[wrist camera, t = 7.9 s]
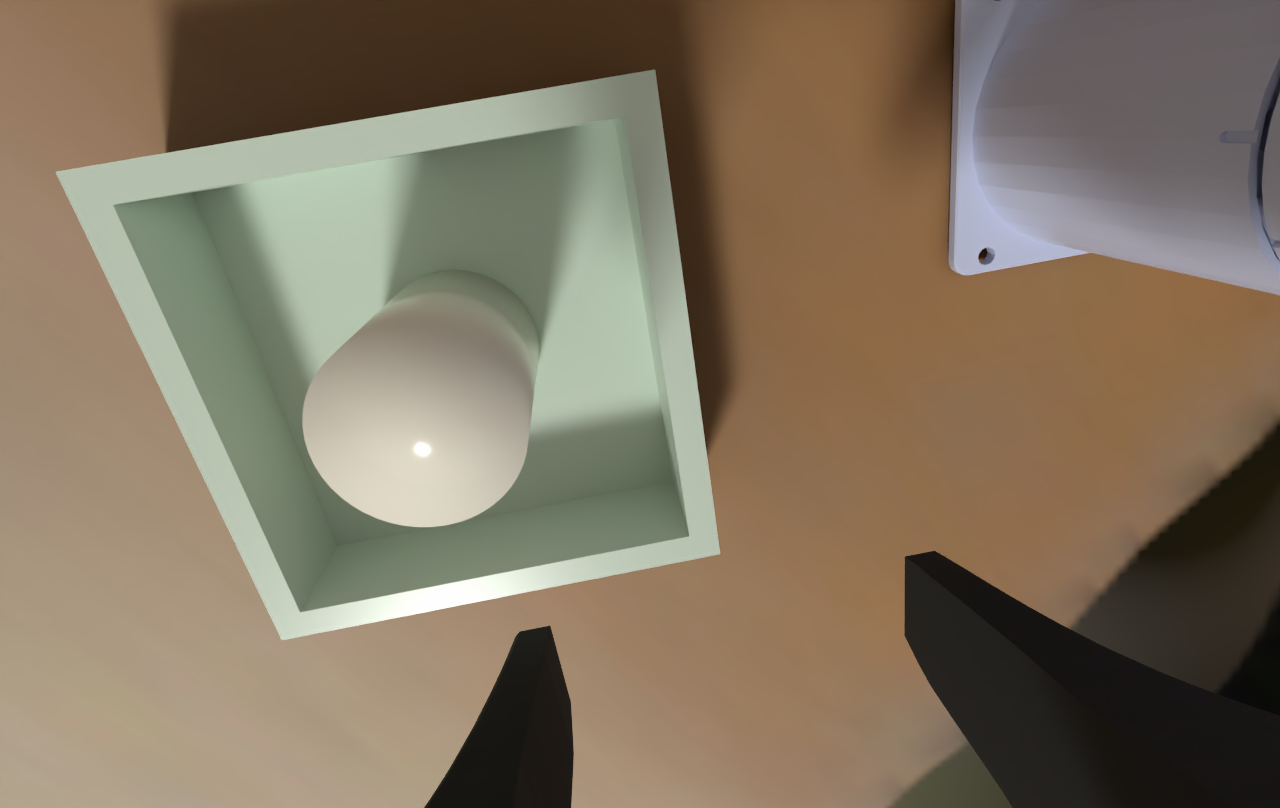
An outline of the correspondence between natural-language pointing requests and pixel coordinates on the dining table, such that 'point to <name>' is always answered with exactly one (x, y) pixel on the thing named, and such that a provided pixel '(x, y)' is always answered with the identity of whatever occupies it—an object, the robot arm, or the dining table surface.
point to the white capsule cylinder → (428, 402)
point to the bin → (374, 274)
